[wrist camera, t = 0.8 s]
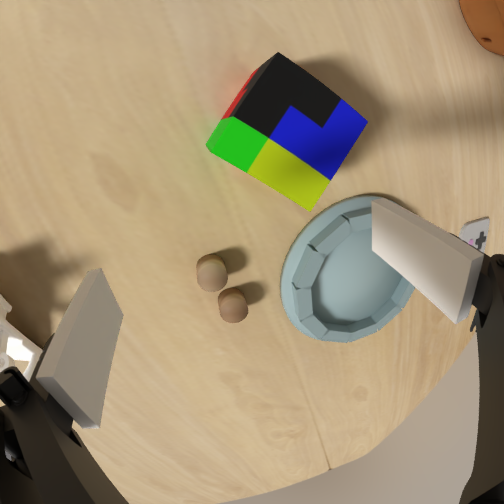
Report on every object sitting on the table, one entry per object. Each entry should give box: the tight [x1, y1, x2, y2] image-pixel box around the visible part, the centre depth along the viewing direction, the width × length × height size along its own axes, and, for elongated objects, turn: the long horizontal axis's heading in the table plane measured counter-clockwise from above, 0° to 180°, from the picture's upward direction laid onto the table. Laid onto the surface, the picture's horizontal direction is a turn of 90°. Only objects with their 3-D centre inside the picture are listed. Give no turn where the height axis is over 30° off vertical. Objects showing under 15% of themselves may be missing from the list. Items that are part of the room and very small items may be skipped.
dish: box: [280, 195, 415, 343], centre depth 40 cm, size 24×24×3 cm
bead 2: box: [218, 288, 248, 323], centre depth 38 cm, size 4×4×3 cm
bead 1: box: [196, 254, 228, 292], centre depth 35 cm, size 4×4×3 cm
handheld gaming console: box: [459, 217, 489, 253], centre depth 46 cm, size 10×2×15 cm
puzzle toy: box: [206, 52, 368, 212], centre depth 27 cm, size 10×10×10 cm
